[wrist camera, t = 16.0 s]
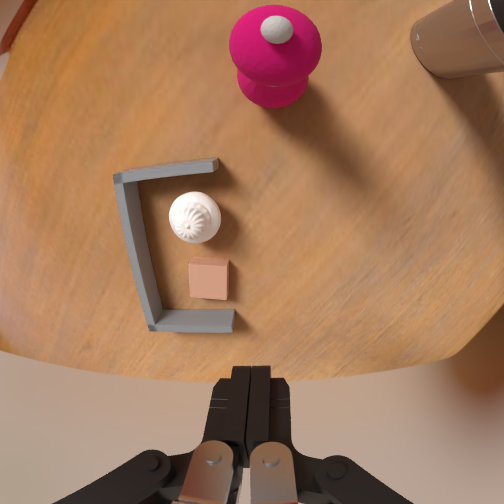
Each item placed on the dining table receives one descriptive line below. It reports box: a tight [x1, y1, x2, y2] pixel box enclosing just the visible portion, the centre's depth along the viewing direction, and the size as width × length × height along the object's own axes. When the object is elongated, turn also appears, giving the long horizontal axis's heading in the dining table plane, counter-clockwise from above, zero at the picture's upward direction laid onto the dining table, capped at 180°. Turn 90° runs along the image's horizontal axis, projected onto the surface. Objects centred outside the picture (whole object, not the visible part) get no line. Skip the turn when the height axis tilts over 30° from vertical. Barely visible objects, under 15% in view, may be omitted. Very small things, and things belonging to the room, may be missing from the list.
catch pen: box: [113, 158, 235, 333], centre depth 37 cm, size 12×22×4 cm, turn 4°
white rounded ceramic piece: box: [169, 192, 221, 243], centre depth 34 cm, size 6×6×7 cm
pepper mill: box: [229, 5, 322, 108], centre depth 21 cm, size 7×7×20 cm
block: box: [188, 257, 229, 300], centre depth 40 cm, size 5×5×2 cm
